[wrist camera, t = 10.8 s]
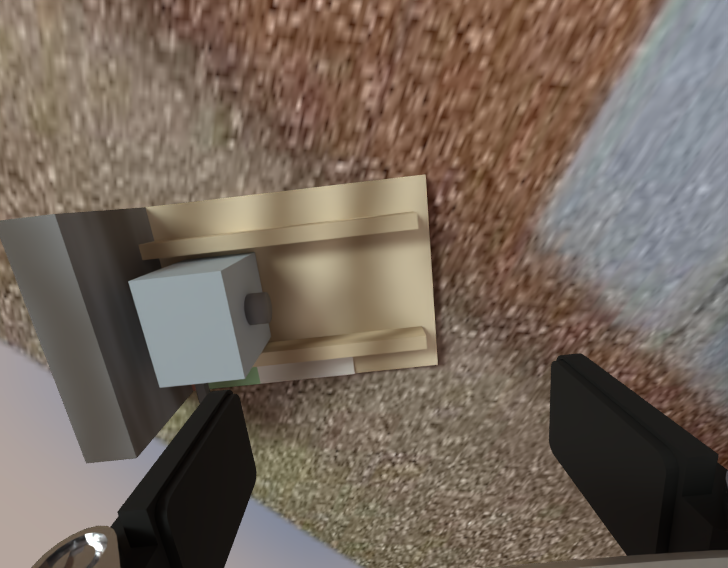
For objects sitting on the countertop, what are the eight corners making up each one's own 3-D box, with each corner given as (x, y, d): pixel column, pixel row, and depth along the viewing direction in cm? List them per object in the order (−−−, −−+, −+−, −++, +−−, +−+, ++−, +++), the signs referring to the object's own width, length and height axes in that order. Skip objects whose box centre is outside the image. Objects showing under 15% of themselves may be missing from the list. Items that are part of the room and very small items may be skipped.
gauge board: (423, 175, 24) (452, 167, 16) (435, 359, 27) (464, 425, 20) (110, 211, 24) (-7, 221, 17) (162, 388, 28) (86, 463, 20)
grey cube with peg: (270, 250, 24) (241, 268, 18) (293, 378, 27) (274, 430, 21) (184, 259, 24) (128, 281, 19) (215, 386, 27) (175, 440, 21)
